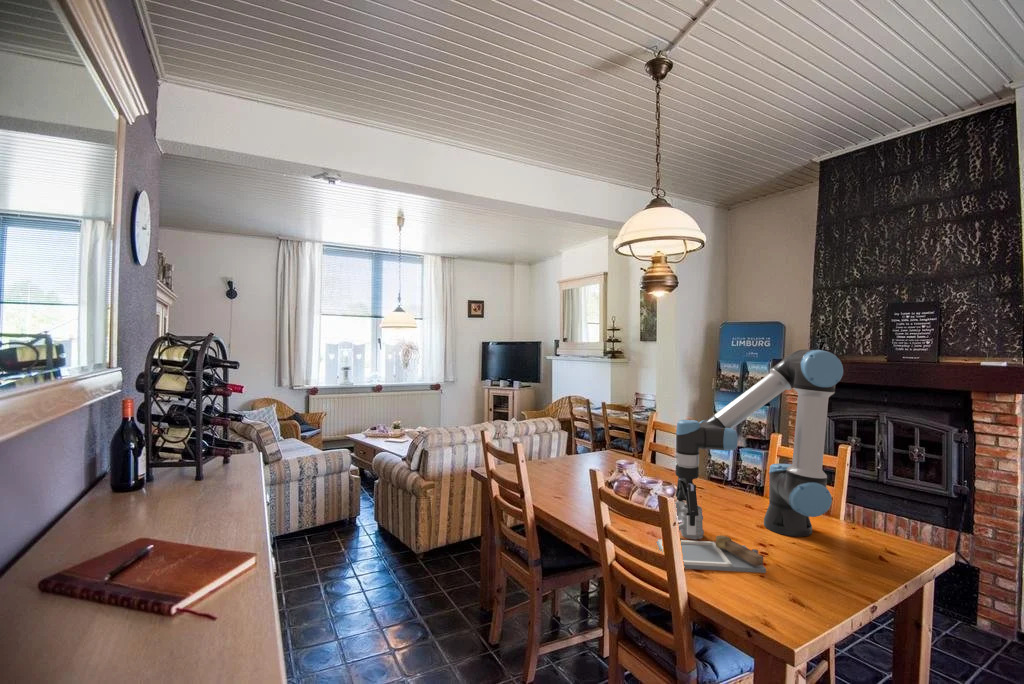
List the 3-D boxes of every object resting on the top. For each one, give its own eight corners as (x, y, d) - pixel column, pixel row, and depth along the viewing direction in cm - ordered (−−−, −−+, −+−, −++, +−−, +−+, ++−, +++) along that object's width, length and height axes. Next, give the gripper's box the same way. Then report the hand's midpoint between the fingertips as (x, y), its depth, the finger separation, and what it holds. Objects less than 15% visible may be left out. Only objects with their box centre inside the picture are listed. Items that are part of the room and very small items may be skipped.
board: (744, 549, 155) (745, 535, 155) (765, 572, 140) (766, 557, 140) (656, 545, 158) (656, 531, 158) (666, 567, 142) (667, 552, 142)
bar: (712, 544, 154) (712, 536, 154) (723, 542, 155) (723, 534, 155) (753, 566, 138) (754, 558, 138) (765, 564, 140) (765, 555, 140)
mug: (708, 539, 163) (708, 503, 163) (677, 541, 161) (677, 506, 161) (695, 530, 171) (696, 496, 171) (665, 532, 169) (665, 498, 169)
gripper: (667, 456, 179) (666, 513, 179) (685, 474, 154) (683, 540, 154) (688, 457, 178) (687, 514, 178) (709, 475, 153) (708, 542, 153)
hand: (685, 526), depth 166 cm, fingers open, 13 cm apart
